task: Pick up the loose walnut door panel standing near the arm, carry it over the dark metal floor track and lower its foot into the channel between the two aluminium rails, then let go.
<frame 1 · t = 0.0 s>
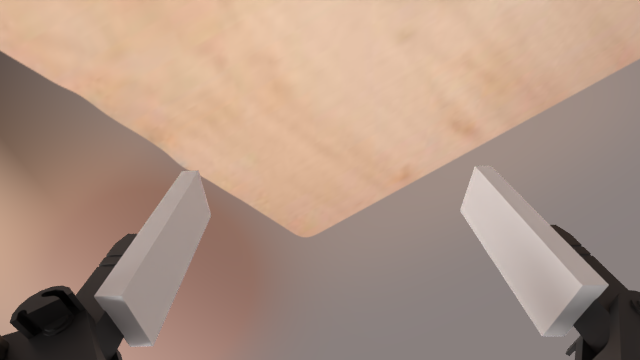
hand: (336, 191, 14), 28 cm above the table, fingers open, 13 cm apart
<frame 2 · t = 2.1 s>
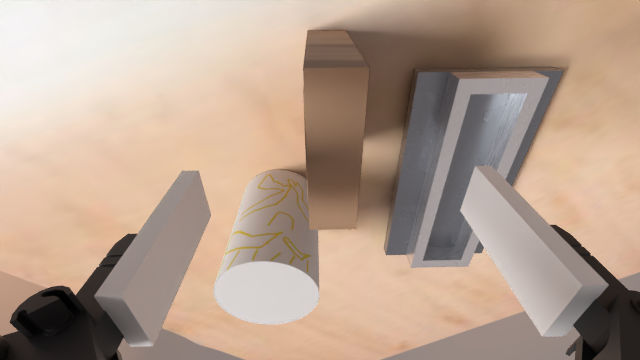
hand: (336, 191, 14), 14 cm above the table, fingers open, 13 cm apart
track: (451, 175, 31), on the table
yellow-veined white cylinder: (281, 199, 33), on the table
door panel: (326, 93, 26), on the table
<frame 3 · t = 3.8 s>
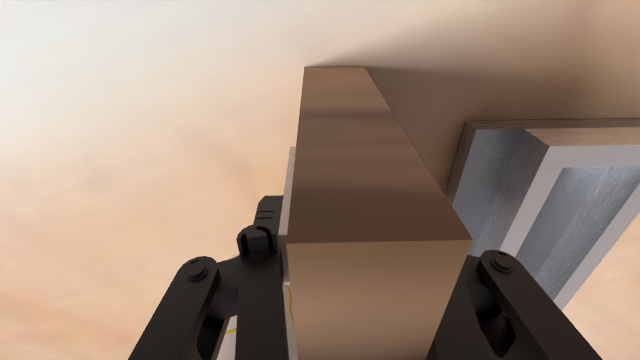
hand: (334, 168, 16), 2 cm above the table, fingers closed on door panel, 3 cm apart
track: (504, 253, 23), on the table
yellow-veined white cylinder: (270, 280, 24), on the table
door panel: (332, 154, 17), on the table, touching gripper
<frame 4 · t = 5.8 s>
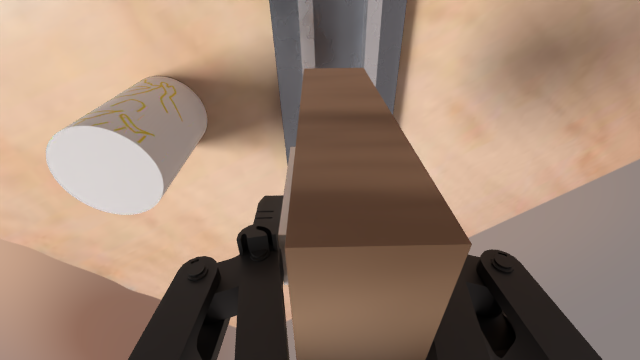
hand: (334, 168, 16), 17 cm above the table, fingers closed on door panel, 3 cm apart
track: (337, 79, 30), on the table
yellow-veined white cylinder: (170, 113, 32), on the table
door panel: (332, 155, 17), point 16 cm above the table, touching gripper
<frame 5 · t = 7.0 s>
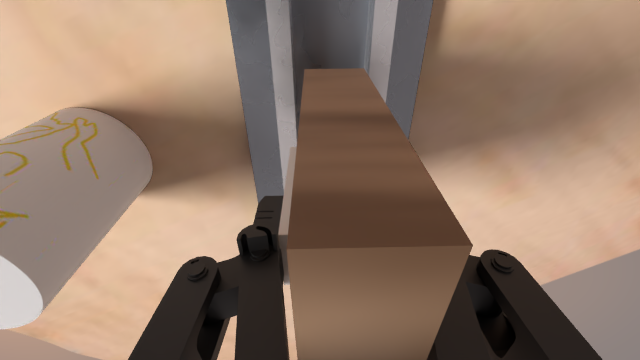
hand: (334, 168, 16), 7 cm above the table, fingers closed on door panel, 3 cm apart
track: (328, 117, 22), on the table
yellow-veined white cylinder: (101, 154, 24), on the table
door panel: (332, 155, 17), point 6 cm above the table, touching gripper
when the fingers open (4 cm above the table, at t = 7.7 s): door panel drops 1 cm, resting on track.
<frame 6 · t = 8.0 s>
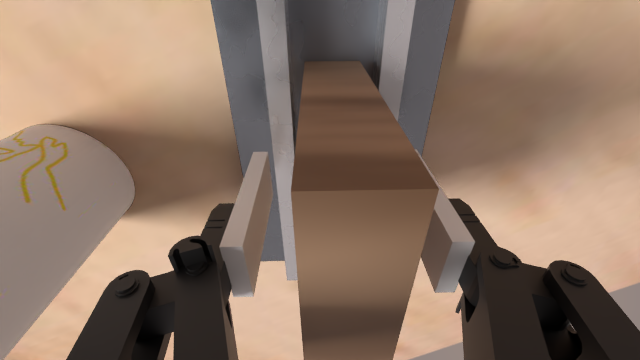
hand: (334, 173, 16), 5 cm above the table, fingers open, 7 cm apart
track: (330, 135, 20), on the table
yellow-veined white cylinder: (76, 175, 21), on the table
door panel: (331, 143, 19), point 1 cm above the table, touching track
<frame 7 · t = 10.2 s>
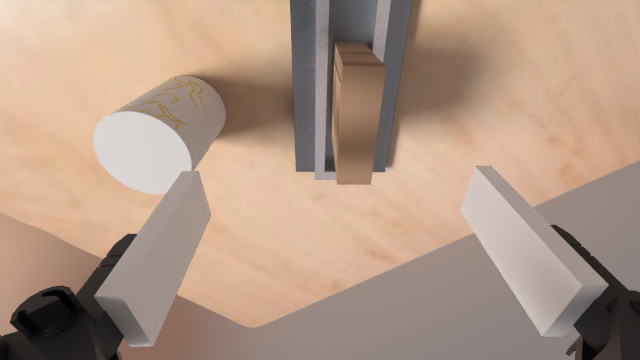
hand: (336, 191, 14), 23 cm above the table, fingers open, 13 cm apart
track: (344, 86, 34), on the table
yellow-veined white cylinder: (192, 109, 36), on the table
door panel: (345, 89, 33), point 1 cm above the table, touching track
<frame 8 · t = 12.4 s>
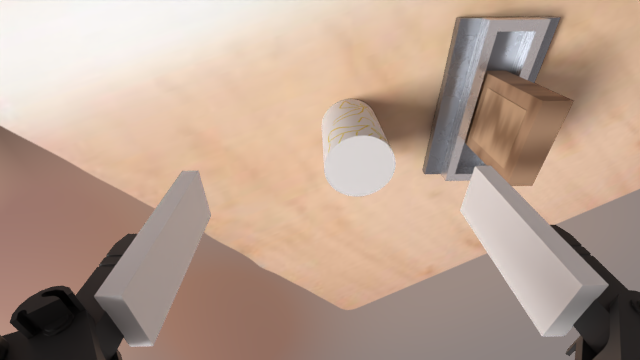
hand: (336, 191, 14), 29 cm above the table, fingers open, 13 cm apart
track: (478, 104, 42), on the table
yellow-veined white cylinder: (348, 125, 43), on the table
door panel: (482, 107, 41), point 1 cm above the table, touching track
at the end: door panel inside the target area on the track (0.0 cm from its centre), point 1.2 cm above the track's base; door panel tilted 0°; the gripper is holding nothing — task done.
